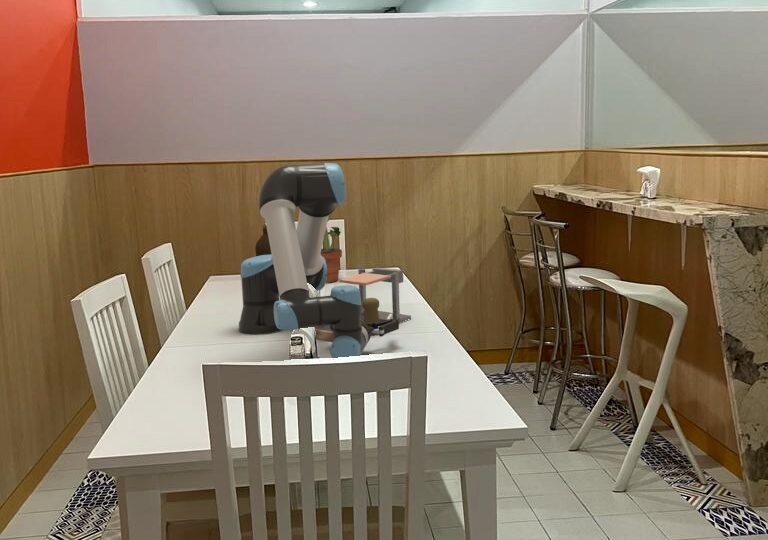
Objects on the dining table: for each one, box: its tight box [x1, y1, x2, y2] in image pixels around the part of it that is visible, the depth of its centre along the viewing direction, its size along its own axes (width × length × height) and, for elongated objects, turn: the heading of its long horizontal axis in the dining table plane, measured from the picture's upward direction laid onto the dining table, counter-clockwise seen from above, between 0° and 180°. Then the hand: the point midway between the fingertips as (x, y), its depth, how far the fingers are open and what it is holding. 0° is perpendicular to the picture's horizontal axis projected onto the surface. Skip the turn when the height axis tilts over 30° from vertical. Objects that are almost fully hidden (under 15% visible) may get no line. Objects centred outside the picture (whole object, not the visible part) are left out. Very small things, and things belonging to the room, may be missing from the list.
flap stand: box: [357, 268, 412, 324], centre depth 246 cm, size 9×17×16 cm, turn 51°
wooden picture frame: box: [315, 326, 333, 342], centre depth 231 cm, size 15×14×2 cm
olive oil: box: [254, 224, 272, 257], centre depth 316 cm, size 11×11×25 cm
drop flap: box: [338, 267, 404, 287], centre depth 242 cm, size 19×12×4 cm, turn 141°
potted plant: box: [320, 204, 343, 284], centre depth 316 cm, size 16×15×35 cm
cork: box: [362, 297, 380, 337], centre depth 229 cm, size 6×6×11 cm
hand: (368, 318), depth 222 cm, fingers open, 13 cm apart
